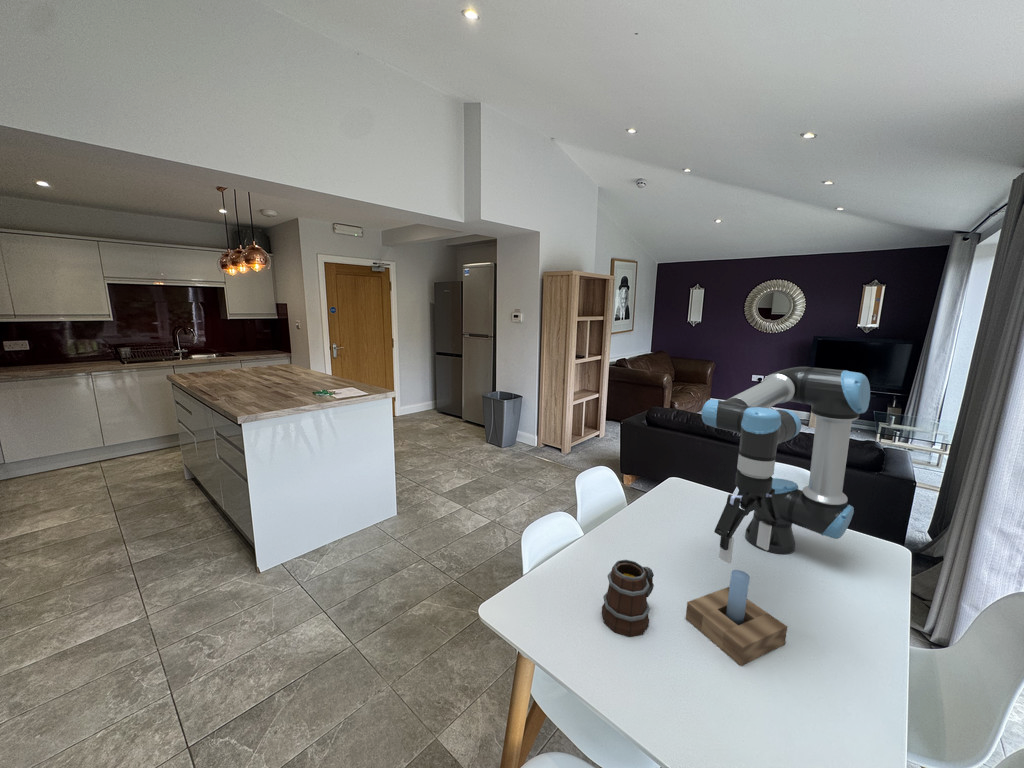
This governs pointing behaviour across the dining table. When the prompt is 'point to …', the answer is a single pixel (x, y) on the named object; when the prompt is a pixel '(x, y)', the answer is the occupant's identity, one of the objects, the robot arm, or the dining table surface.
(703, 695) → the dining table surface
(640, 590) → the mug
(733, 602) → the peg
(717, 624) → the socket block
